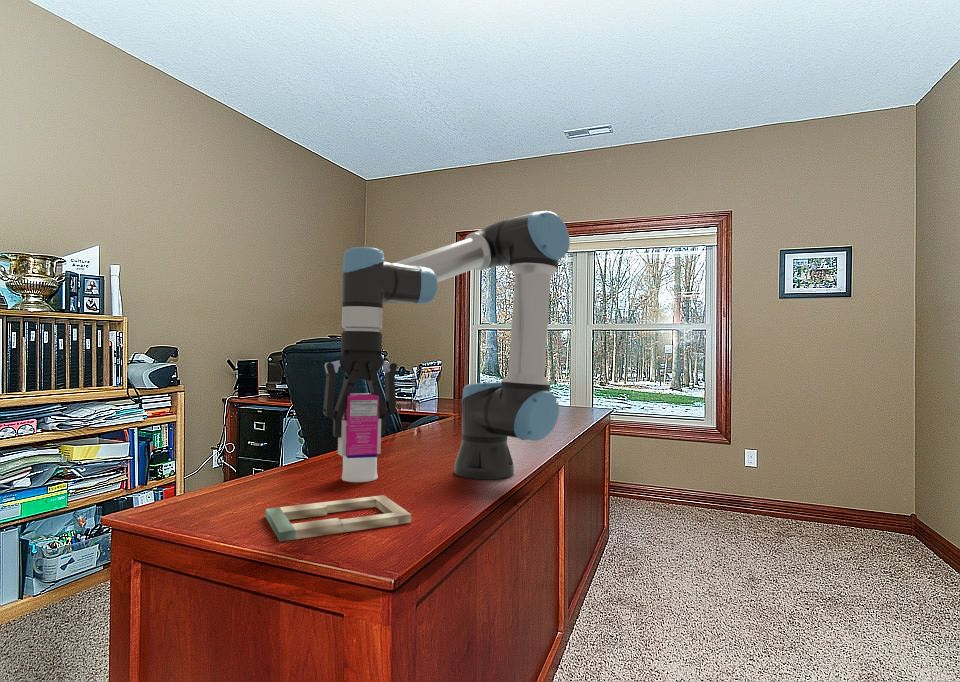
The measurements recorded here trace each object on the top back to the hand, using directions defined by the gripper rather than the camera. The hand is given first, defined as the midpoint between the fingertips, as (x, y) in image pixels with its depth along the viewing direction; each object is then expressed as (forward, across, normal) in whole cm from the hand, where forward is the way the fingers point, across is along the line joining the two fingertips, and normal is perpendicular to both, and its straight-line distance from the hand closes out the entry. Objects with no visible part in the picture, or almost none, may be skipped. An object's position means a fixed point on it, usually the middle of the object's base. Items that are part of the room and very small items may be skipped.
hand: (359, 453), depth 108 cm
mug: (+12, -11, -32) cm, 35 cm away
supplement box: (0, 0, 0) cm, 0 cm away
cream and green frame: (+12, +4, 0) cm, 12 cm away
